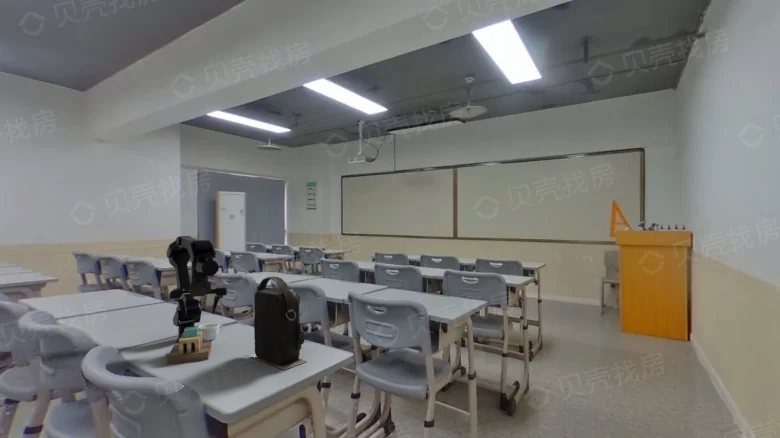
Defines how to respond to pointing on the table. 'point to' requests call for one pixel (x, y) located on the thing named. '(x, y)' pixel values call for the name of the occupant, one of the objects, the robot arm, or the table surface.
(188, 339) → the pallet
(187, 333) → the teal square block
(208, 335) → the teacup
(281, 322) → the shoulder bag
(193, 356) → the block
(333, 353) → the table surface
